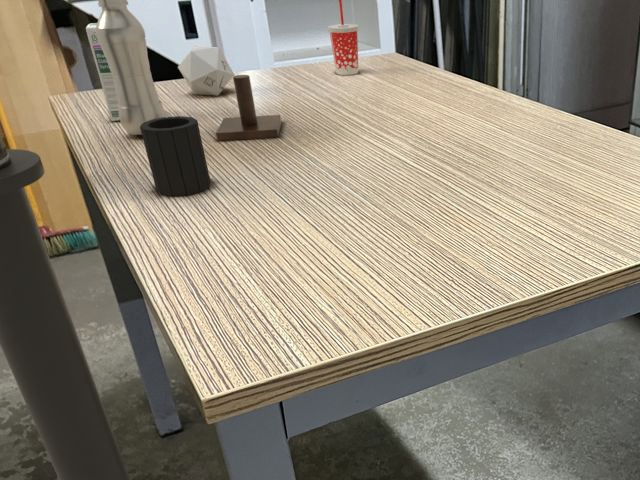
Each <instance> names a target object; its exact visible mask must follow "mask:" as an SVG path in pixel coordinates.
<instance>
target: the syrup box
mask: <svg viewBox="0 0 640 480" xmlns="http://www.w3.org/2000/svg"><path fill="white" fill-rule="evenodd" d="M96 25H97V22H91V23H88V24H87V26H86V27H85V31H86V35H87V39H88V43H89V46H90V50H91V54H92V57H93V60H94V64H95V66H96V70H97V74H98V77H99V80H100V85H101V87H102V91H103V95H104V98H105V102H106V106H107V110H108V115H109V118H110V120H111V122H119V121H120V117H119V111H118V105H119V103H118V99H117V94H116V89H115V84H114V80H113V77H112V72H111V71H110V68H109V65H108V62H107V60H106V57H105V55H104V53H103V50H102V48H101V46H100V42H99V41H98V38H97V36H96Z"/></svg>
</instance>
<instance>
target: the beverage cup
mask: <svg viewBox="0 0 640 480" xmlns="http://www.w3.org/2000/svg"><path fill="white" fill-rule="evenodd" d="M338 2H339V13H340V23H339V24H338V23H337V24H331V25H328V26H327V29H328V30H327V31H328V32H329V36H330V37H329V38H330V43H331V48H332V56H333V61H334V68H335V72H336V75H339V76H350V75H351V76H352V75H357V74H359V47H358V46H359V44H358V31H359V25H358V24H355V23H344V22H345V21H344V12H343V4H342V3H343V2H342V0H338Z"/></svg>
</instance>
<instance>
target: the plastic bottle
mask: <svg viewBox="0 0 640 480" xmlns="http://www.w3.org/2000/svg"><path fill="white" fill-rule="evenodd" d="M97 5H98V7H99V8H101V12H100V15H99V17H98V19H97V22H96V23H97V25H96V36H97V38H98V41H99V42H100V46H101V48H102V50H103V53H104V55H105V57H106V60H107V62H108V65H109V68H110V71H111V72H112V77H113V80H114V84H115V89H116V94H117V99H118V103H119V105H118V111H119V117H120V120H119V122H120V123H121V125H122V128H123V129H124V131H126V132H127V133H128V134H129V135H133V136H134V135H135V136H142V133H141V129H140V126H141V124H142V123H144V122H147V121H150V120H153V119H157V118H163V117H167V114H166V111H165V107H164V106H163V104H162V101H161V100H160V98H159V94H158V92H157V88H156V86H155V83H154V80H153V76H152V72H151V71H152V70H151V67H150V61H149V57H148V46H147V39H146V31H145V28H144V26H143V25H142V23H141V22H140V21H139V20H138V19H137V17H136V16H135V15H134V14H133V13H132V12H131V11H130V10H129V9H128V7H127V6H128V5H129V1H128V0H97Z"/></svg>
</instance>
